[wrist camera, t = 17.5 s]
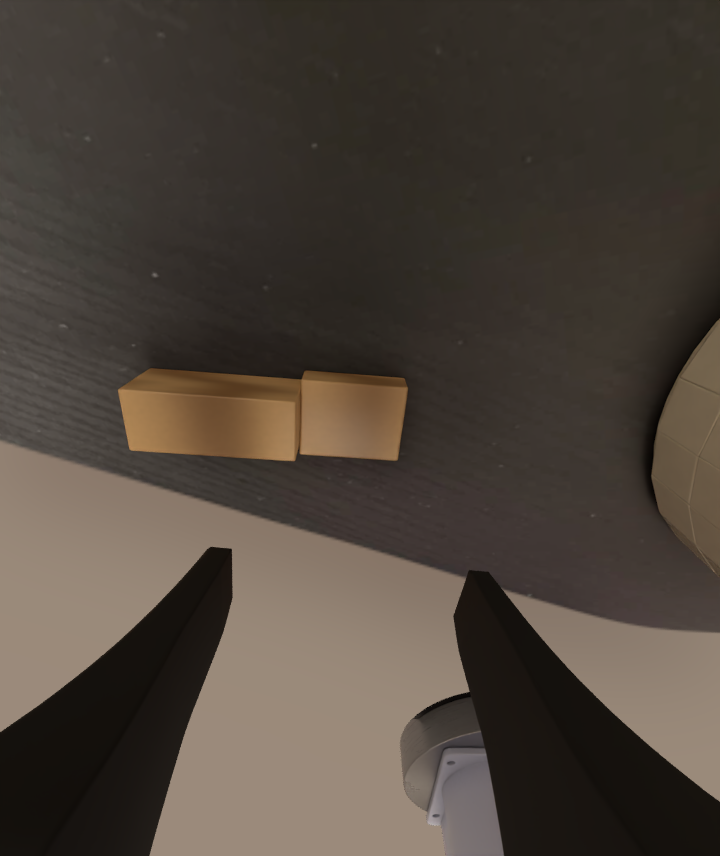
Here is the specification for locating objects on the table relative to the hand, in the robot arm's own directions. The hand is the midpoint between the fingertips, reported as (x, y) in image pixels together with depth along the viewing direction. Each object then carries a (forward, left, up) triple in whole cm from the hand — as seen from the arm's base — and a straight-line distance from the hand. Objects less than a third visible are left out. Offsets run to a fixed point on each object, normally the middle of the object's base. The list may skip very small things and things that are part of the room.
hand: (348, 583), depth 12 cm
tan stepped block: (+3, +3, -6) cm, 8 cm away
